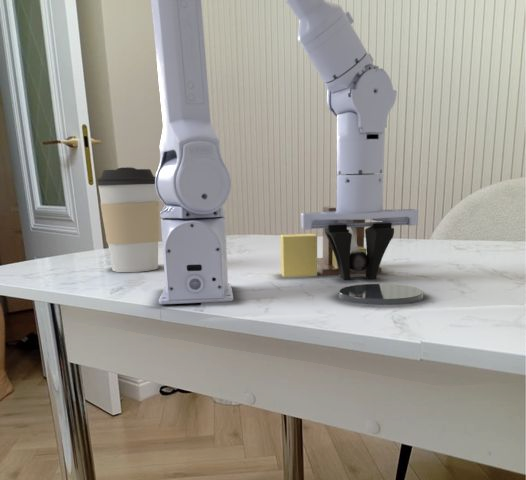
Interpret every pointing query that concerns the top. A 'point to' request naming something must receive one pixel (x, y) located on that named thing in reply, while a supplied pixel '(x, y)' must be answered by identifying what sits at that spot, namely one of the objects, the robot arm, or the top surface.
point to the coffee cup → (130, 218)
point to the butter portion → (298, 255)
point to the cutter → (326, 262)
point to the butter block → (334, 261)
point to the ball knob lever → (356, 254)
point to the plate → (381, 294)
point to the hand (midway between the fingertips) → (358, 284)
